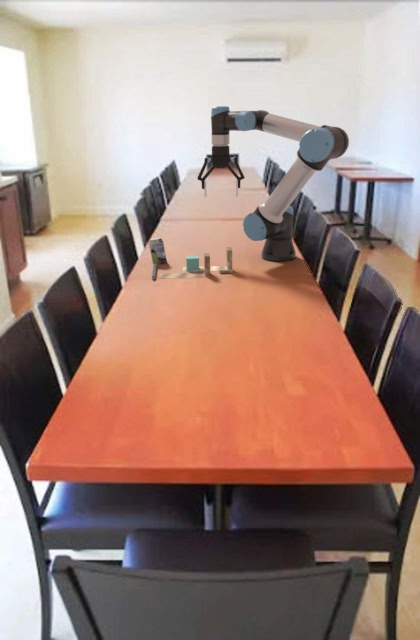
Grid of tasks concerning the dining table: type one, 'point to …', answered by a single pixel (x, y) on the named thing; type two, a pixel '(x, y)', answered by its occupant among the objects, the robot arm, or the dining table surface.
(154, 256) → the beverage can
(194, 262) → the block
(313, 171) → the robot arm
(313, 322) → the dining table surface
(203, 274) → the strip oak
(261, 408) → the dining table surface
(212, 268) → the beige long angled piece
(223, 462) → the dining table surface
